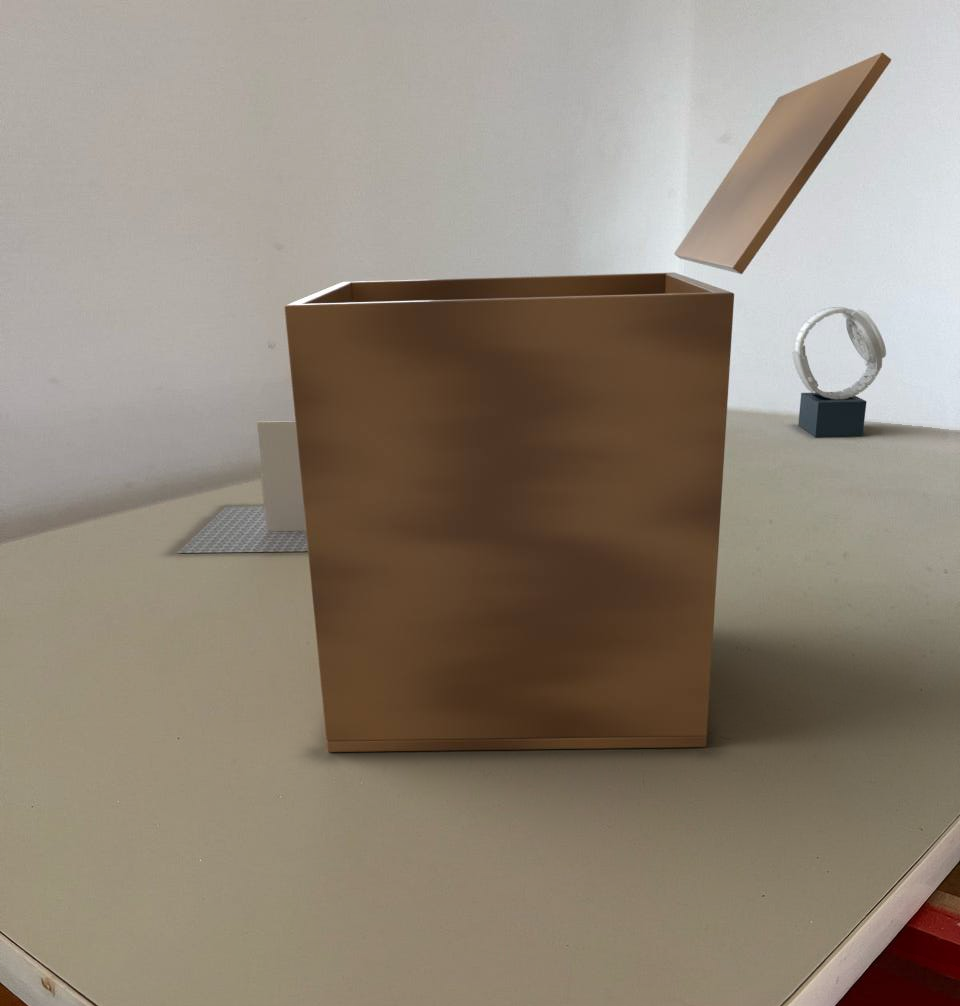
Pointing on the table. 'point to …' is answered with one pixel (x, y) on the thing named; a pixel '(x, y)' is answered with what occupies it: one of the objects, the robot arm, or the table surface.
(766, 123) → the flap
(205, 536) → the architectural model
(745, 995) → the table surface
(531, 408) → the carton
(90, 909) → the table surface
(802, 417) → the watch
